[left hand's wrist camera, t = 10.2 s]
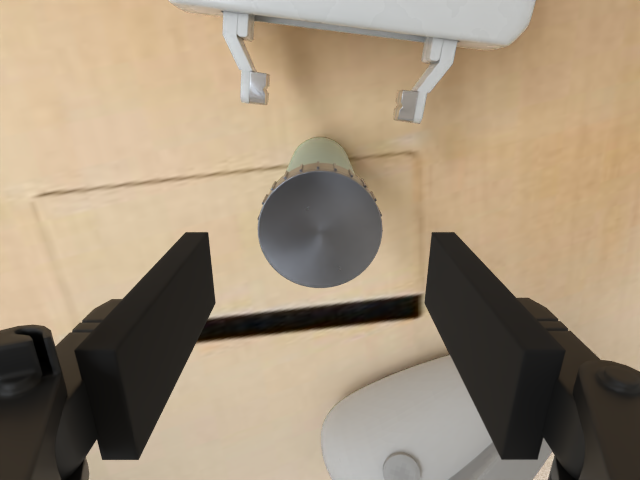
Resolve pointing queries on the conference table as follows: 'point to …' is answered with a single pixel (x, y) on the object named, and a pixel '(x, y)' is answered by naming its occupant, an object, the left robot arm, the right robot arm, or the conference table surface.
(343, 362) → the conference table surface
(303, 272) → the lid
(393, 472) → the projector
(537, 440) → the left robot arm
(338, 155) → the jar
